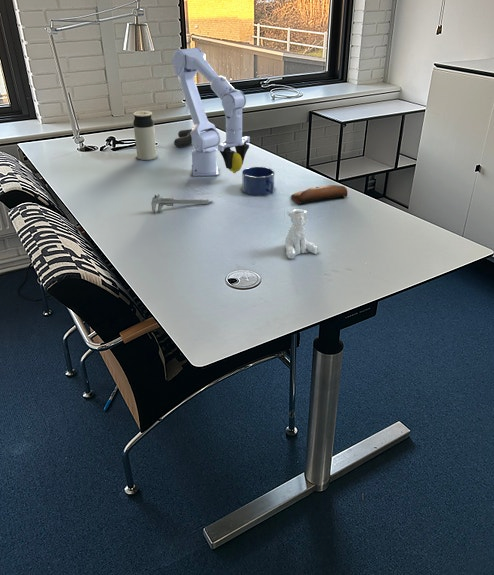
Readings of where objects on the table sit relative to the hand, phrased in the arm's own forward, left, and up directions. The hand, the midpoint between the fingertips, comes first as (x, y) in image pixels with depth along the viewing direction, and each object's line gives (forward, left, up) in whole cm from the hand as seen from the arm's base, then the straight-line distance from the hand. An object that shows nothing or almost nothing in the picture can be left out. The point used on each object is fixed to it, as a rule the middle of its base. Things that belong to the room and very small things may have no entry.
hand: (234, 166), depth 190 cm
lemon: (0, 0, -3) cm, 3 cm away
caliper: (-18, -23, -6) cm, 30 cm away
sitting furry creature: (+15, -55, -6) cm, 57 cm away
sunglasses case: (+28, -17, -6) cm, 33 cm away
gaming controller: (-19, +51, -6) cm, 55 cm away
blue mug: (+9, -9, -6) cm, 14 cm away
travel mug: (-35, +31, -6) cm, 47 cm away
